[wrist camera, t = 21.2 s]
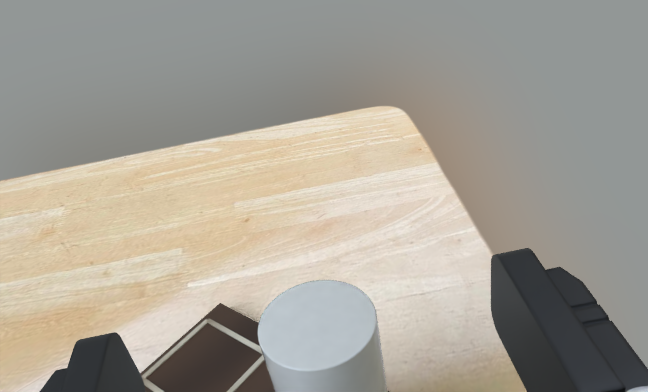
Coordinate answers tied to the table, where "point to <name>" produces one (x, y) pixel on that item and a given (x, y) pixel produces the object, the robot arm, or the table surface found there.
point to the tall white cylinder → (322, 340)
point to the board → (212, 358)
